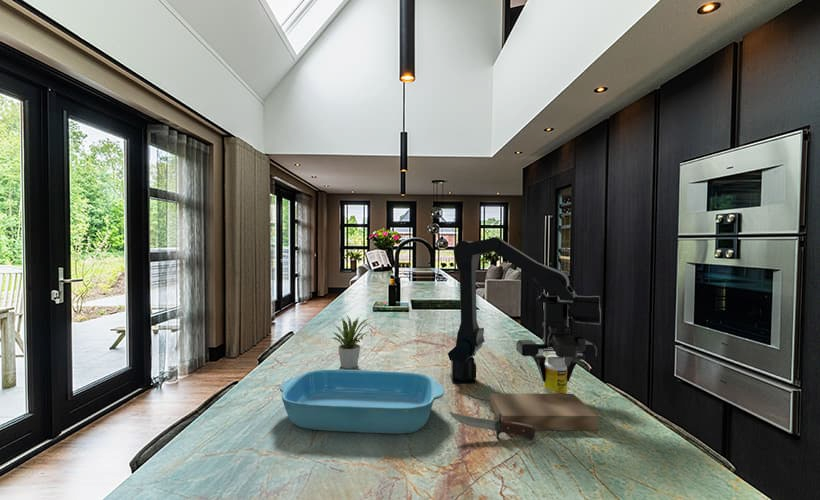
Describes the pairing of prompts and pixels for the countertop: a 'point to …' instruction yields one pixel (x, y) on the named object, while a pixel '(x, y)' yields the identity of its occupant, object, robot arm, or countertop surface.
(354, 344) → the house plant
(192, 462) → the countertop surface
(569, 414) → the walnut stand
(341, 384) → the casserole dish
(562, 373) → the supplement bottle
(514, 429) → the knife
